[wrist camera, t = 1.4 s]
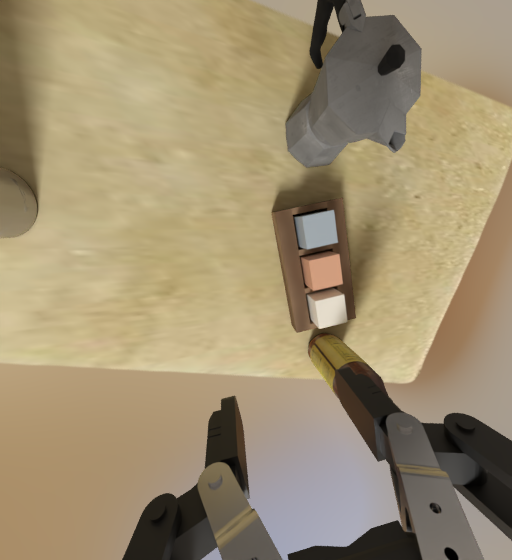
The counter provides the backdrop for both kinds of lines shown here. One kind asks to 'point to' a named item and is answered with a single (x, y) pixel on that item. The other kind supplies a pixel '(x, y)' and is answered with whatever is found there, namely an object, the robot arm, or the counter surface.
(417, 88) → the coffeepot
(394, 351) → the counter surface
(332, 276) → the terracotta button
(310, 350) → the sauce bottle
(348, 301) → the brown button board
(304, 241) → the slate button
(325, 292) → the cream button
